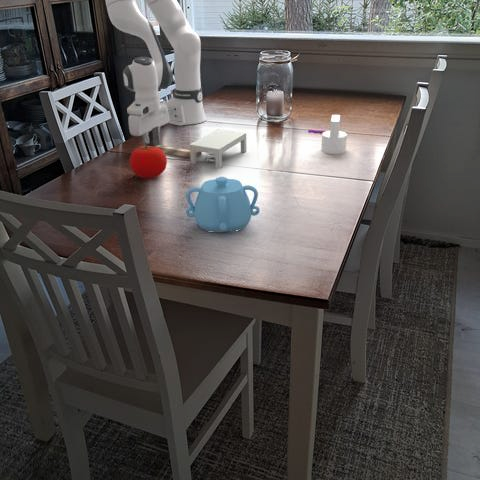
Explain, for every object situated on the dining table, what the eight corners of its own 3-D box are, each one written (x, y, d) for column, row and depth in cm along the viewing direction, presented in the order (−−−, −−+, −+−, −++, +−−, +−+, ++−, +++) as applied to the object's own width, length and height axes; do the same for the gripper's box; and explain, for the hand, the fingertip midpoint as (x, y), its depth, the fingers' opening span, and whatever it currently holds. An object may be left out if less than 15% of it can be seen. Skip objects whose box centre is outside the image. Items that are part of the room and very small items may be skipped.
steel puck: (204, 162, 184) (204, 158, 184) (211, 158, 188) (210, 153, 188) (216, 164, 182) (216, 160, 182) (223, 159, 186) (223, 155, 186)
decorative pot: (228, 206, 151) (226, 163, 145) (265, 225, 140) (265, 178, 134) (182, 223, 142) (178, 178, 136) (218, 244, 131) (215, 196, 125)
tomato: (129, 173, 176) (125, 143, 171) (163, 167, 180) (161, 138, 175) (135, 184, 167) (131, 154, 162) (171, 179, 171) (168, 148, 166)
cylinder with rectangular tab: (345, 154, 188) (348, 122, 182) (320, 153, 190) (322, 121, 184) (345, 146, 196) (348, 115, 190) (322, 145, 197) (323, 114, 192)
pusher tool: (144, 151, 195) (141, 128, 191) (153, 147, 200) (151, 124, 195) (193, 160, 186) (191, 136, 182) (201, 155, 190) (200, 131, 186)
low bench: (190, 163, 183) (189, 144, 180) (219, 146, 198) (218, 128, 195) (219, 168, 178) (219, 149, 175) (246, 151, 193) (246, 132, 190)
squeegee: (316, 120, 223) (339, 122, 220) (315, 124, 224) (338, 126, 220) (298, 142, 200) (324, 144, 196) (298, 146, 201) (323, 148, 197)
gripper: (158, 97, 197) (161, 132, 204) (123, 110, 182) (128, 147, 189) (171, 98, 195) (174, 134, 202) (138, 112, 179) (142, 150, 186)
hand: (152, 140), depth 195 cm, fingers closed on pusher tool, 3 cm apart
